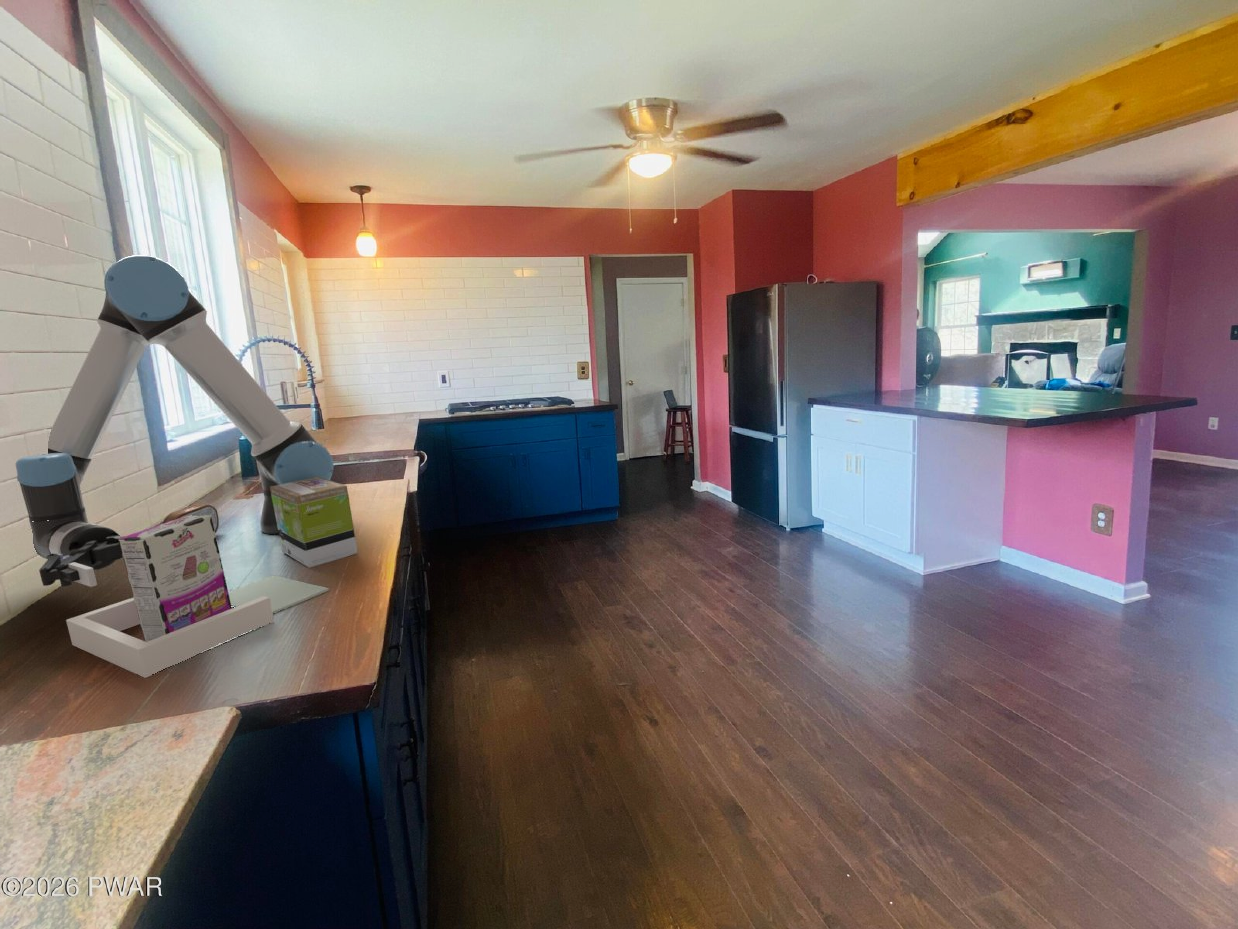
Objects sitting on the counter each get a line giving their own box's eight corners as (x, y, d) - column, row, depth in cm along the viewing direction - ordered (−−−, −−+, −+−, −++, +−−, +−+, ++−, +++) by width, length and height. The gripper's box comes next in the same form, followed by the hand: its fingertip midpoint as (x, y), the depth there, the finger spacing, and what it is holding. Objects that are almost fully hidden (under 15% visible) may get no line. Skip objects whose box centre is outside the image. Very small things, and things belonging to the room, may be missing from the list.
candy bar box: (207, 611, 97) (187, 514, 94) (233, 612, 96) (214, 514, 93) (141, 645, 86) (115, 537, 83) (169, 646, 85) (145, 537, 82)
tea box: (280, 554, 124) (267, 485, 121) (329, 540, 131) (319, 475, 128) (307, 569, 114) (294, 494, 111) (359, 554, 121) (348, 483, 118)
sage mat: (274, 577, 110) (273, 575, 110) (328, 590, 103) (328, 588, 102) (210, 601, 101) (210, 598, 101) (265, 617, 93) (265, 614, 93)
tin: (211, 533, 142) (205, 499, 141) (224, 533, 142) (218, 499, 140) (162, 555, 127) (154, 518, 126) (177, 555, 127) (168, 517, 126)
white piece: (198, 599, 102) (193, 577, 101) (274, 621, 91) (269, 597, 90) (72, 645, 87) (65, 619, 87) (145, 678, 77) (138, 649, 76)
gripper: (172, 544, 115) (233, 557, 105) (-6, 593, 94) (48, 617, 83) (164, 506, 113) (225, 516, 103) (-19, 548, 92) (34, 566, 82)
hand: (146, 561), depth 93 cm, fingers open, 13 cm apart
